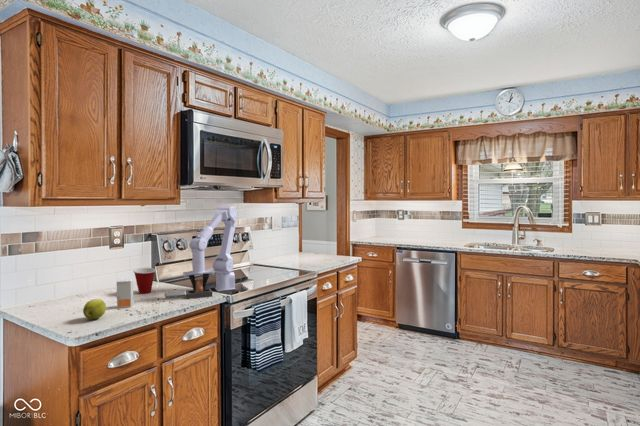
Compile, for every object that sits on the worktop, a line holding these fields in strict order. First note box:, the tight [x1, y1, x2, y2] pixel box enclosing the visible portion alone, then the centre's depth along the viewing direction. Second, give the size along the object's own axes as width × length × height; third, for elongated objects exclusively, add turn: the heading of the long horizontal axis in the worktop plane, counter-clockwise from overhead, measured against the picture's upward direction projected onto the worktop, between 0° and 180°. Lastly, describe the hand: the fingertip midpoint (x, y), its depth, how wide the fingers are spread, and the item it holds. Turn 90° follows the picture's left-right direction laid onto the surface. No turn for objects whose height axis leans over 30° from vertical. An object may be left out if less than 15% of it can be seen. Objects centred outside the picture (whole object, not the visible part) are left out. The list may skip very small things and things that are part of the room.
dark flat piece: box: [185, 288, 213, 300], centre depth 204 cm, size 12×9×3 cm
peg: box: [195, 278, 203, 293], centre depth 203 cm, size 4×4×8 cm
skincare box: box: [116, 278, 134, 309], centre depth 185 cm, size 6×4×12 cm
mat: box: [164, 290, 187, 299], centre depth 206 cm, size 9×9×1 cm
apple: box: [82, 298, 107, 320], centre depth 167 cm, size 8×9×8 cm
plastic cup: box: [133, 267, 157, 295], centre depth 211 cm, size 11×11×12 cm
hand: (199, 289), depth 203 cm, fingers closed on peg, 4 cm apart
